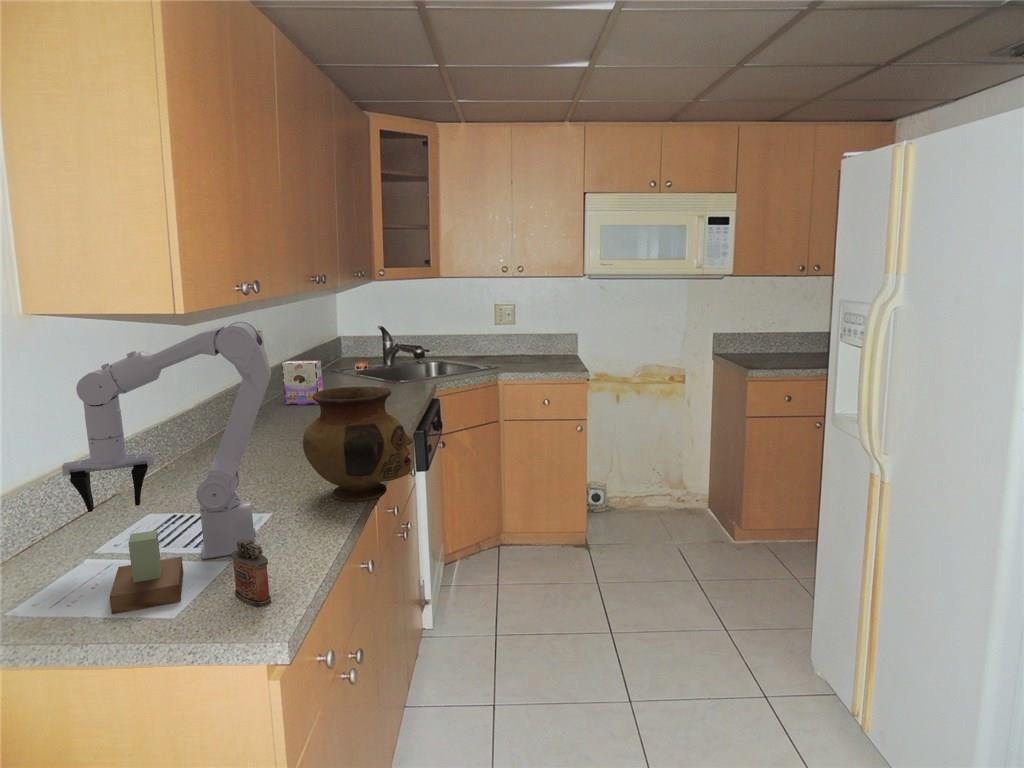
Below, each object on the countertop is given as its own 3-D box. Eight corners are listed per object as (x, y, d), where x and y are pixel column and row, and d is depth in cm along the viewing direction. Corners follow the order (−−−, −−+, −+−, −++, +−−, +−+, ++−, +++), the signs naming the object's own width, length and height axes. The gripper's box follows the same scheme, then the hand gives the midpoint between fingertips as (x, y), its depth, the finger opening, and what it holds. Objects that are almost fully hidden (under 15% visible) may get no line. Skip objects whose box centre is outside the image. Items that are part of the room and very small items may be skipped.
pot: (347, 475, 184) (343, 380, 180) (428, 484, 175) (425, 385, 171) (284, 504, 161) (278, 396, 157) (373, 516, 152) (369, 402, 148)
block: (161, 568, 121) (157, 530, 120) (160, 577, 118) (155, 538, 117) (135, 572, 120) (130, 534, 119) (133, 582, 116) (128, 542, 115)
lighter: (230, 595, 118) (224, 539, 116) (248, 588, 120) (243, 532, 118) (257, 610, 113) (252, 551, 111) (276, 601, 115) (271, 544, 113)
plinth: (183, 572, 127) (181, 556, 126) (180, 601, 116) (178, 584, 115) (120, 582, 123) (118, 566, 122) (111, 614, 112) (109, 596, 112)
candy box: (324, 401, 276) (321, 360, 273) (318, 404, 270) (316, 362, 267) (290, 401, 277) (287, 360, 274) (284, 404, 272) (281, 362, 269)
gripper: (54, 445, 122) (65, 520, 124) (148, 436, 127) (156, 507, 130) (62, 436, 128) (72, 507, 131) (151, 427, 134) (159, 496, 136)
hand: (114, 507), depth 131 cm, fingers open, 7 cm apart
